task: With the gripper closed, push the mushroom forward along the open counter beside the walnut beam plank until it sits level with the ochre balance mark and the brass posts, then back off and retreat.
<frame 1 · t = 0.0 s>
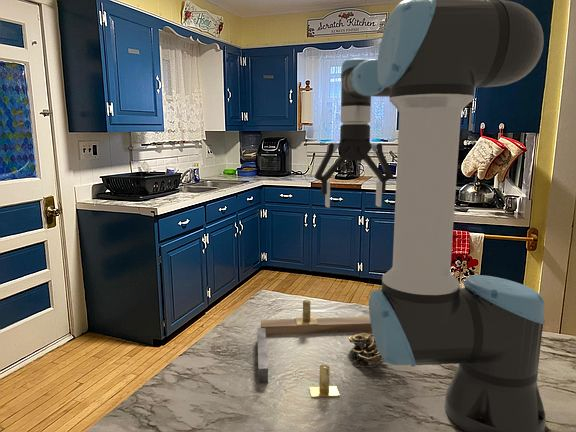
hand: (353, 206, 117), 28 cm above the countertop, fingers open, 13 cm apart
mushroom: (368, 357, 95), on the countertop
beam plank: (322, 329, 108), on the countertop
near post: (324, 392, 81), on the countertop
end stop: (262, 359, 93), on the countertop
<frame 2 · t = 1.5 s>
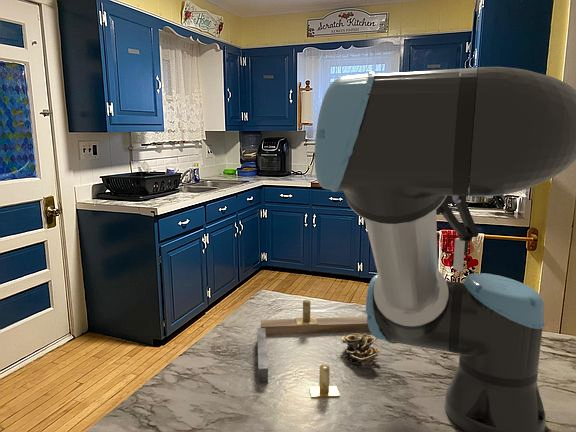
hand: (426, 270, 93), 18 cm above the countertop, fingers open, 13 cm apart
mushroom: (362, 358, 95), on the countertop
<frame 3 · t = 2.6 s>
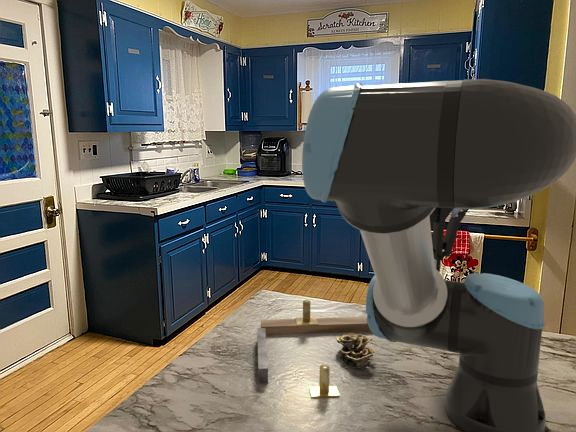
hand: (428, 288, 93), 15 cm above the countertop, fingers closed
mushroom: (356, 358, 94), on the countertop
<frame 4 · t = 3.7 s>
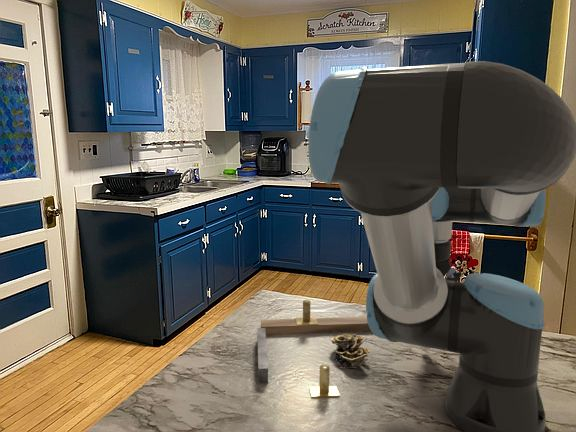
hand: (425, 345, 95), 2 cm above the countertop, fingers closed
mushroom: (351, 358, 94), on the countertop
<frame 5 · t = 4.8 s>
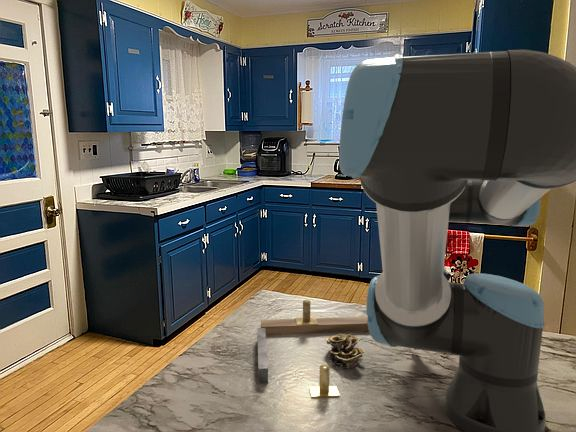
hand: (415, 346, 95), 2 cm above the countertop, fingers closed
mushroom: (346, 358, 94), on the countertop
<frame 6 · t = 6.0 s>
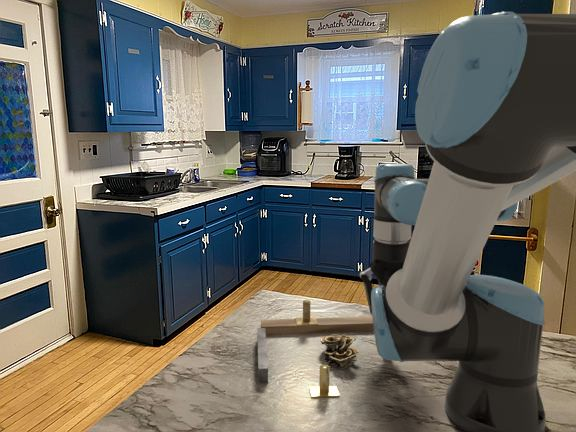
hand: (386, 346, 95), 2 cm above the countertop, fingers closed
mushroom: (340, 359, 94), on the countertop
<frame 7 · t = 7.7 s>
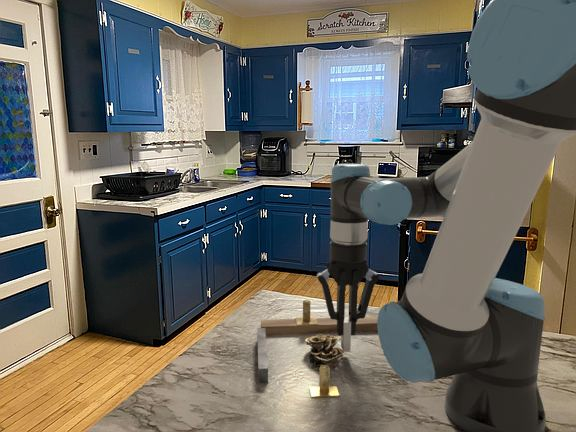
hand: (345, 348, 94), 2 cm above the countertop, fingers closed
mushroom: (326, 359, 94), on the countertop, touching gripper
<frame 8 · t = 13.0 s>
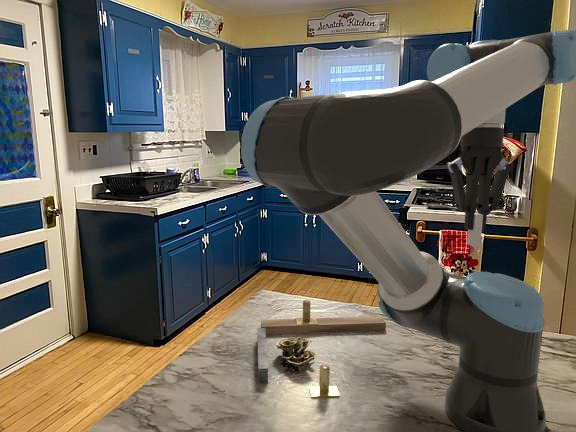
hand: (473, 245, 90), 24 cm above the countertop, fingers closed
mushroom: (297, 362, 93), on the countertop
at the end: mushroom inside the target area (2.8 cm from its centre), on the countertop; mushroom moved 15.7 cm from its start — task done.
